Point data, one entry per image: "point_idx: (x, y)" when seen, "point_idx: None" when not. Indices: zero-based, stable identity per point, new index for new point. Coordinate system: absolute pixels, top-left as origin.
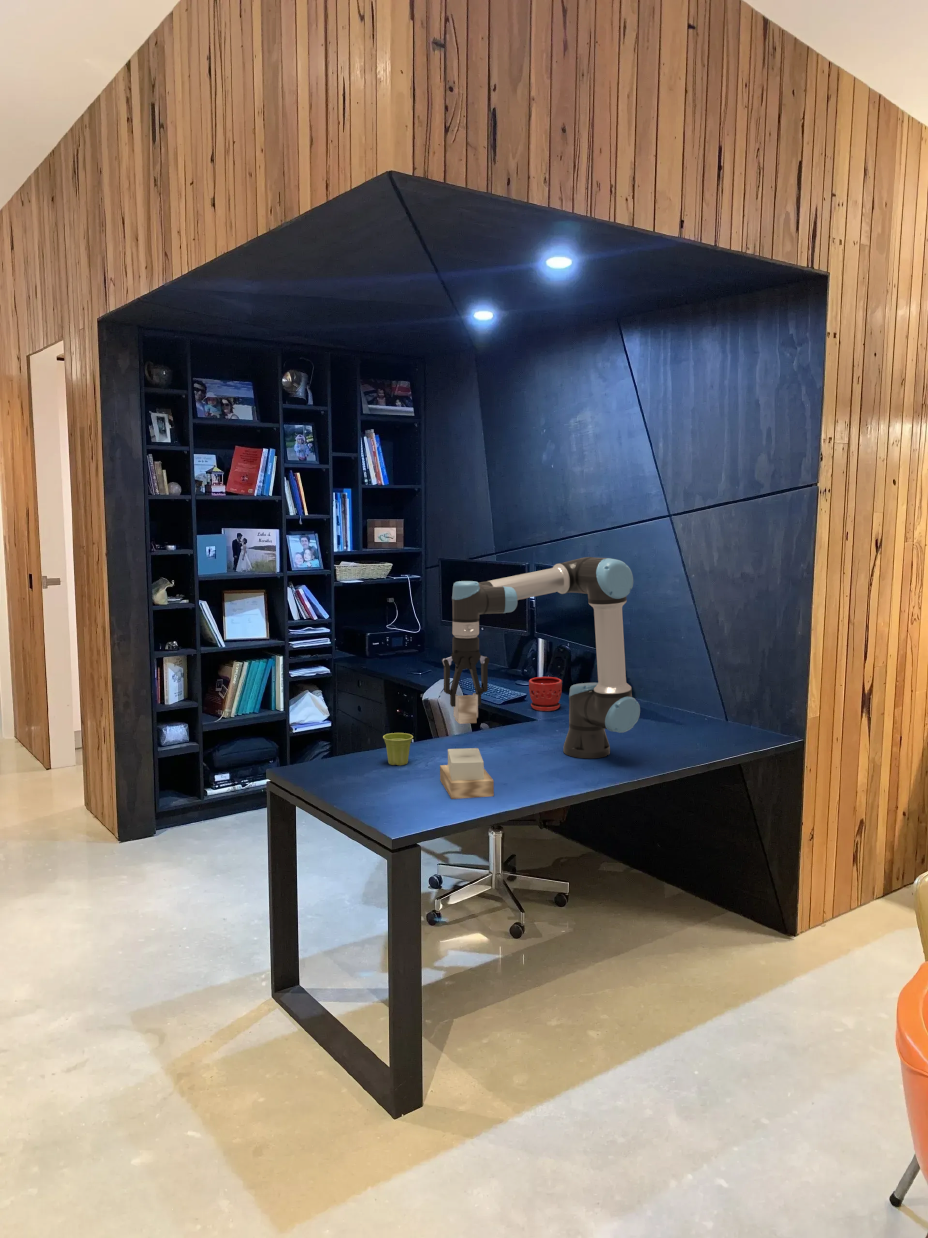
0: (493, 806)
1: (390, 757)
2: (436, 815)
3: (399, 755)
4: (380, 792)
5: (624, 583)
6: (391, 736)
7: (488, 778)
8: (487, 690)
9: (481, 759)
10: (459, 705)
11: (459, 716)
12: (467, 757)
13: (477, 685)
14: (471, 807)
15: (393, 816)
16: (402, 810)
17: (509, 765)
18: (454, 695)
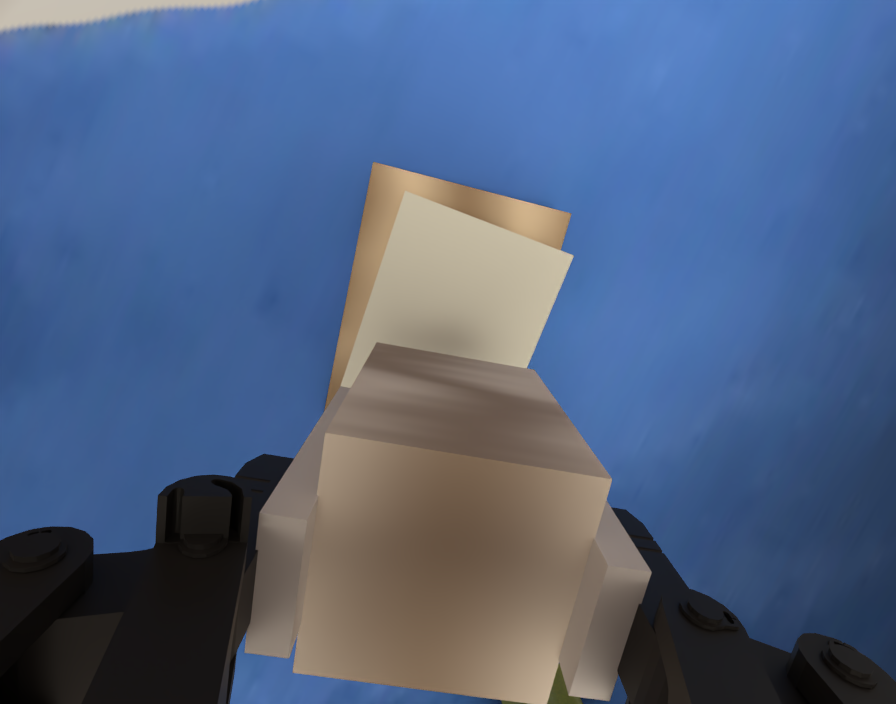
0: (441, 42)
1: (579, 697)
2: (704, 45)
3: (556, 687)
4: (748, 408)
5: None
6: None
7: (381, 206)
8: (7, 538)
9: (392, 249)
10: (582, 439)
11: (548, 392)
12: (446, 320)
13: (170, 678)
14: (530, 75)
15: (851, 117)
16: (786, 171)
17: (155, 511)
18: (678, 589)
